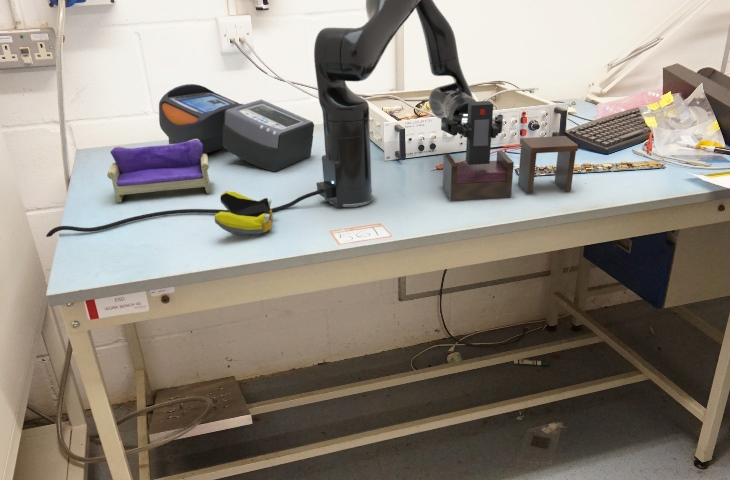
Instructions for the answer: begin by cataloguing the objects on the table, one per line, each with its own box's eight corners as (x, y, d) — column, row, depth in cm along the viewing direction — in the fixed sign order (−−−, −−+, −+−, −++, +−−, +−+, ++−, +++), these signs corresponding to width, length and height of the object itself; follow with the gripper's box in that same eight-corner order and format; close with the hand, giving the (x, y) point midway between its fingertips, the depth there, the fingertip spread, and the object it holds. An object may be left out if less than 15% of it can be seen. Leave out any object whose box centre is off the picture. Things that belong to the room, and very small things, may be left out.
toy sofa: (113, 204, 140) (101, 156, 134) (117, 191, 147) (106, 145, 142) (213, 194, 144) (205, 147, 138) (212, 182, 151) (205, 137, 146)
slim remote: (469, 165, 136) (471, 105, 129) (465, 160, 139) (468, 101, 132) (489, 164, 136) (493, 104, 130) (485, 159, 139) (489, 100, 133)
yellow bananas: (216, 244, 119) (271, 240, 120) (212, 215, 117) (268, 212, 117) (224, 215, 132) (273, 212, 133) (220, 189, 129) (270, 186, 130)
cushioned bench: (450, 201, 136) (451, 165, 132) (442, 187, 144) (443, 153, 140) (511, 197, 137) (513, 162, 133) (500, 184, 145) (502, 150, 141)
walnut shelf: (526, 195, 138) (531, 147, 133) (516, 183, 145) (520, 138, 140) (572, 192, 139) (578, 145, 134) (559, 180, 146) (565, 135, 141)
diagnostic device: (146, 82, 159) (210, 68, 176) (148, 147, 170) (208, 128, 186) (269, 138, 148) (325, 118, 164) (263, 204, 158) (316, 178, 175)
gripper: (433, 98, 143) (448, 116, 129) (496, 95, 145) (518, 112, 130) (433, 133, 147) (447, 154, 133) (494, 129, 148) (515, 150, 134)
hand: (482, 133), depth 132 cm, fingers closed on slim remote, 4 cm apart
